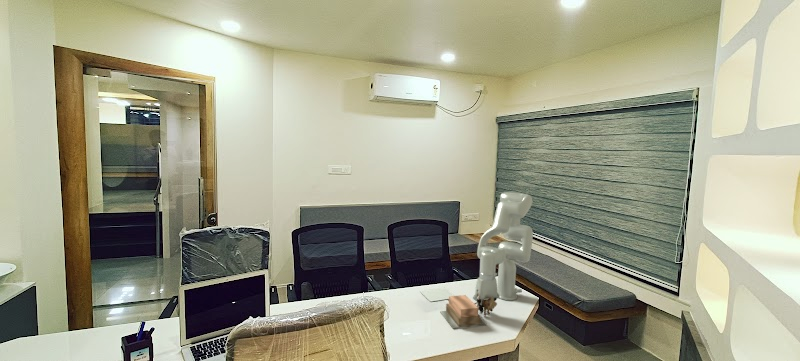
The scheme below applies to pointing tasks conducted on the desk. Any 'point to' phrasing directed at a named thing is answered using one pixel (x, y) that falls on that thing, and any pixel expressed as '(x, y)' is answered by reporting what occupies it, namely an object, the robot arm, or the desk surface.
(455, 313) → the block tower
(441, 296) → the paper stack
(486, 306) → the lion figurine
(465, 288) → the desk surface
